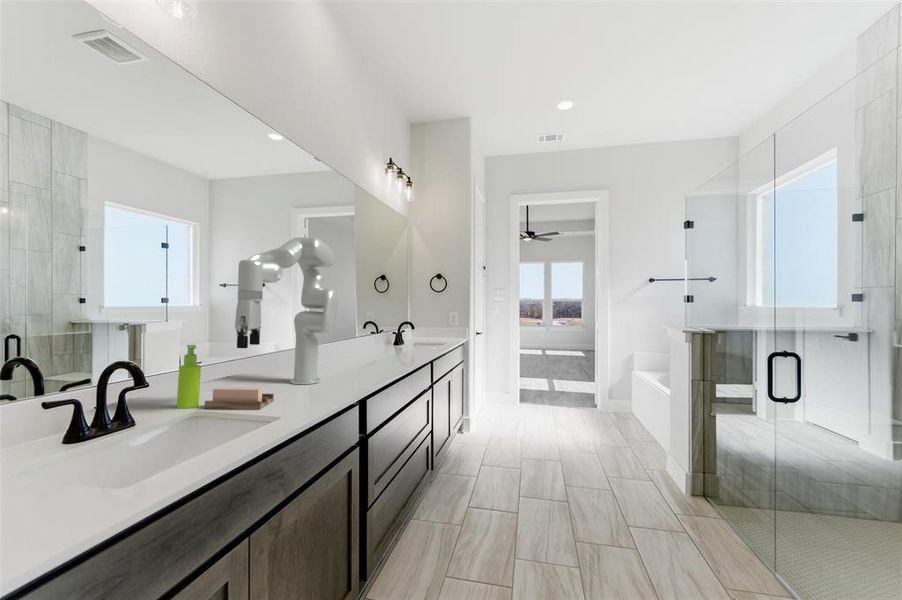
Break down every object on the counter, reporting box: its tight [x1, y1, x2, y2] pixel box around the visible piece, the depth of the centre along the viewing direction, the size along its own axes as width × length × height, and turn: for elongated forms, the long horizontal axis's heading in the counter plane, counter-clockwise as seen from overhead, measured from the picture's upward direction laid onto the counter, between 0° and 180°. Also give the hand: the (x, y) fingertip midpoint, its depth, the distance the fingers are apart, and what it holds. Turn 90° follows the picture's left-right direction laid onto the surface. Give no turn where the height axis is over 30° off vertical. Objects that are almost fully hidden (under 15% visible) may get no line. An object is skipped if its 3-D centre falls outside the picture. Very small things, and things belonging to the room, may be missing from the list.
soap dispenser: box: [176, 344, 202, 410], centre depth 124 cm, size 6×7×20 cm
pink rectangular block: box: [212, 386, 263, 401], centre depth 126 cm, size 4×14×5 cm, turn 96°
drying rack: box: [203, 393, 275, 411], centre depth 128 cm, size 12×17×2 cm
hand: (248, 346), depth 130 cm, fingers open, 9 cm apart
